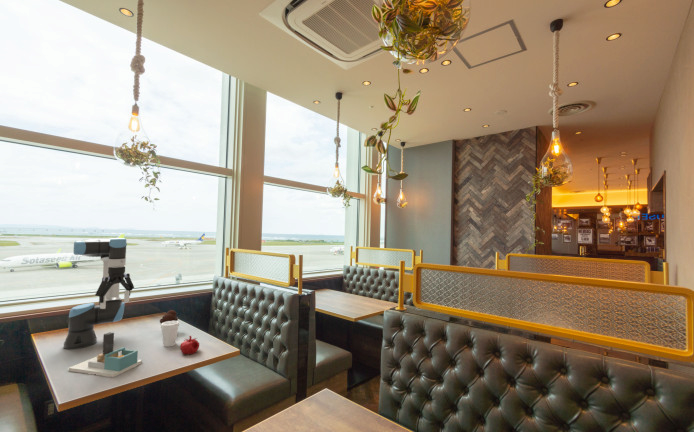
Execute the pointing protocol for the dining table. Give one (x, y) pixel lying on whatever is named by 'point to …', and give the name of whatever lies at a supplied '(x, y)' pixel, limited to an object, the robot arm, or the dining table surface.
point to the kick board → (98, 368)
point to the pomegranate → (189, 346)
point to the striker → (107, 347)
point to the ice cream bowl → (169, 316)
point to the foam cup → (169, 332)
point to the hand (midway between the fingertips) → (115, 305)
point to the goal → (120, 359)
